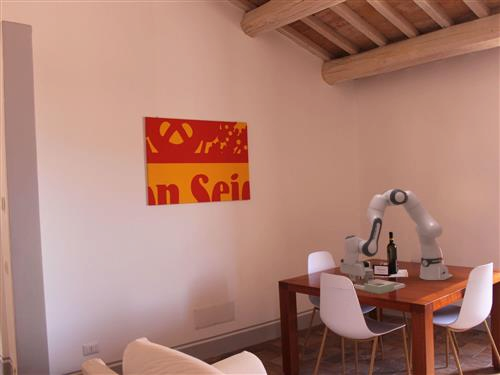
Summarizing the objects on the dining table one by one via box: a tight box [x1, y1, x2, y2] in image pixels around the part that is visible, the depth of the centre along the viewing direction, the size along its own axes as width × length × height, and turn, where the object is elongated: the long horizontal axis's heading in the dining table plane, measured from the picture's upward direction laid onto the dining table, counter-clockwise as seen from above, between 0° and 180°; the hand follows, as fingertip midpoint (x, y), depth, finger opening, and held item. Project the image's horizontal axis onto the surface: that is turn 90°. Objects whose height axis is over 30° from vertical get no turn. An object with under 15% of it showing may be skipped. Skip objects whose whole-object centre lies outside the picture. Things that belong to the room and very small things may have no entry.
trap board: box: [353, 278, 406, 295], centre depth 294 cm, size 24×24×4 cm
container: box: [358, 260, 375, 281], centre depth 318 cm, size 8×8×13 cm
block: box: [356, 278, 368, 286], centre depth 297 cm, size 5×5×3 cm
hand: (353, 281), depth 304 cm, fingers closed
